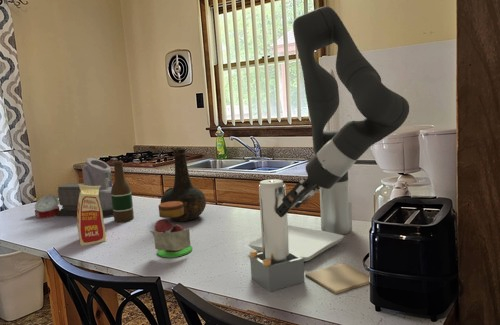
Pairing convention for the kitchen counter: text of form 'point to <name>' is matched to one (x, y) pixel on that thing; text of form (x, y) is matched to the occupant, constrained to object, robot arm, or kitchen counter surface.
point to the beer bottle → (121, 195)
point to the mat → (339, 278)
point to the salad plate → (305, 241)
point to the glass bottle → (184, 190)
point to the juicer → (93, 176)
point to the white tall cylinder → (273, 221)
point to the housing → (276, 271)
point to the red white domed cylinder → (47, 206)
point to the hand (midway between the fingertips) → (286, 209)
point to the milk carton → (90, 216)
